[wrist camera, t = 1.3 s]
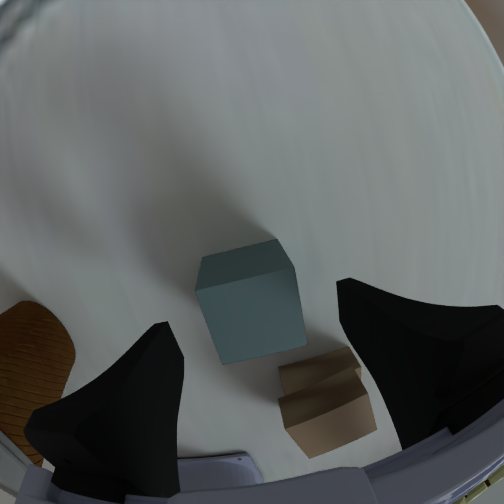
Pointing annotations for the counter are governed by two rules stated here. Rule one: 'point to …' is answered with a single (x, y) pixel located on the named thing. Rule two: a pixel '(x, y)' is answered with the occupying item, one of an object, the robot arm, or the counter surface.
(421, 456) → the robot arm
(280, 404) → the top slab
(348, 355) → the bottom slab
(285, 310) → the cube
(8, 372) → the disposable coffee cup
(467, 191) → the counter surface
